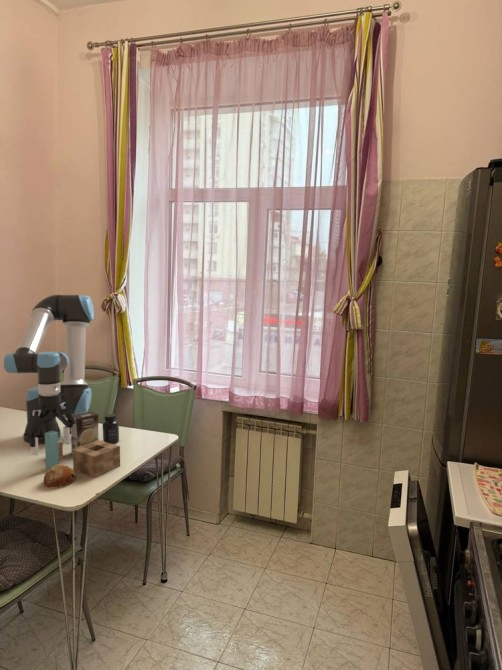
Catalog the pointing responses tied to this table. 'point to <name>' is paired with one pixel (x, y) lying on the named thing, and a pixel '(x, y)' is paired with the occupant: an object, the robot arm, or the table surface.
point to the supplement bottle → (110, 429)
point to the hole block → (96, 458)
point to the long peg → (51, 449)
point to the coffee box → (84, 429)
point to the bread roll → (59, 476)
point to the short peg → (60, 448)
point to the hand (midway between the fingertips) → (51, 448)
